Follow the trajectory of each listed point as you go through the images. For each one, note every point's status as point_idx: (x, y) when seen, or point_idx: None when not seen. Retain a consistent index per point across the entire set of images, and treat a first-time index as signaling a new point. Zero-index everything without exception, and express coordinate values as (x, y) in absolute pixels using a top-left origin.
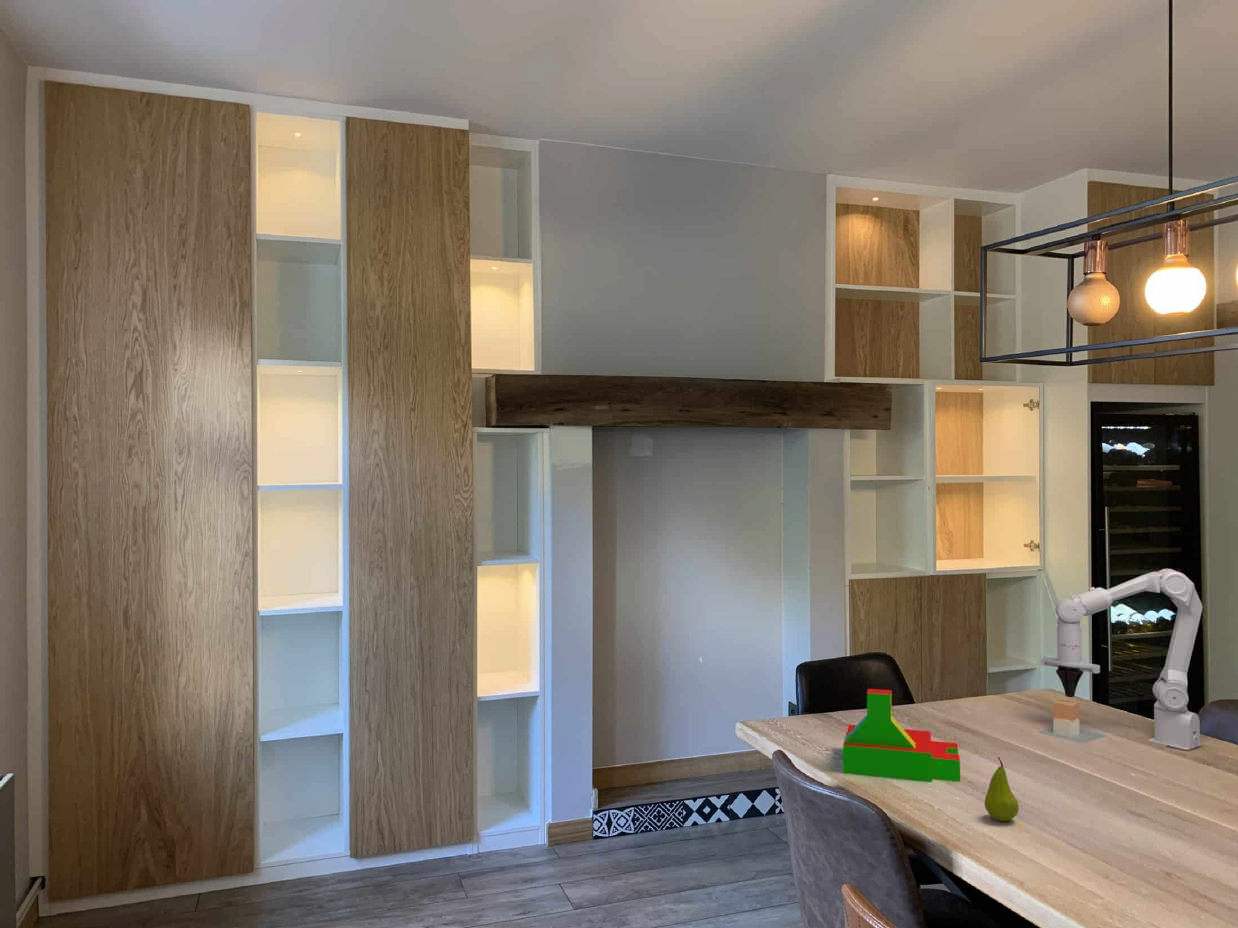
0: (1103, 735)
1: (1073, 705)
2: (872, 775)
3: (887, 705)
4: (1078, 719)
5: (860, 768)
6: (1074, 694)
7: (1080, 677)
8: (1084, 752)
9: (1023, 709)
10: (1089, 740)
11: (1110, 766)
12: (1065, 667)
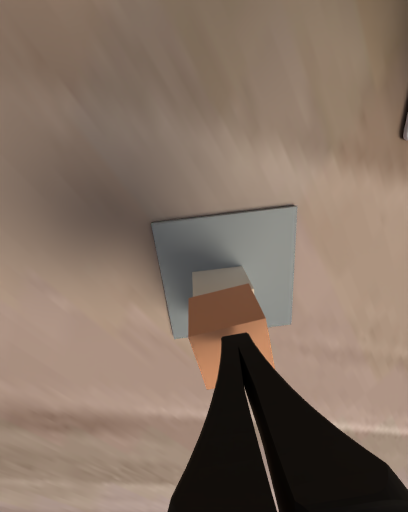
0: (290, 216)
1: (273, 361)
2: None
3: None
4: (253, 291)
5: None
6: (250, 339)
7: (332, 424)
8: (316, 360)
9: None
10: (289, 294)
11: (384, 386)
12: None
